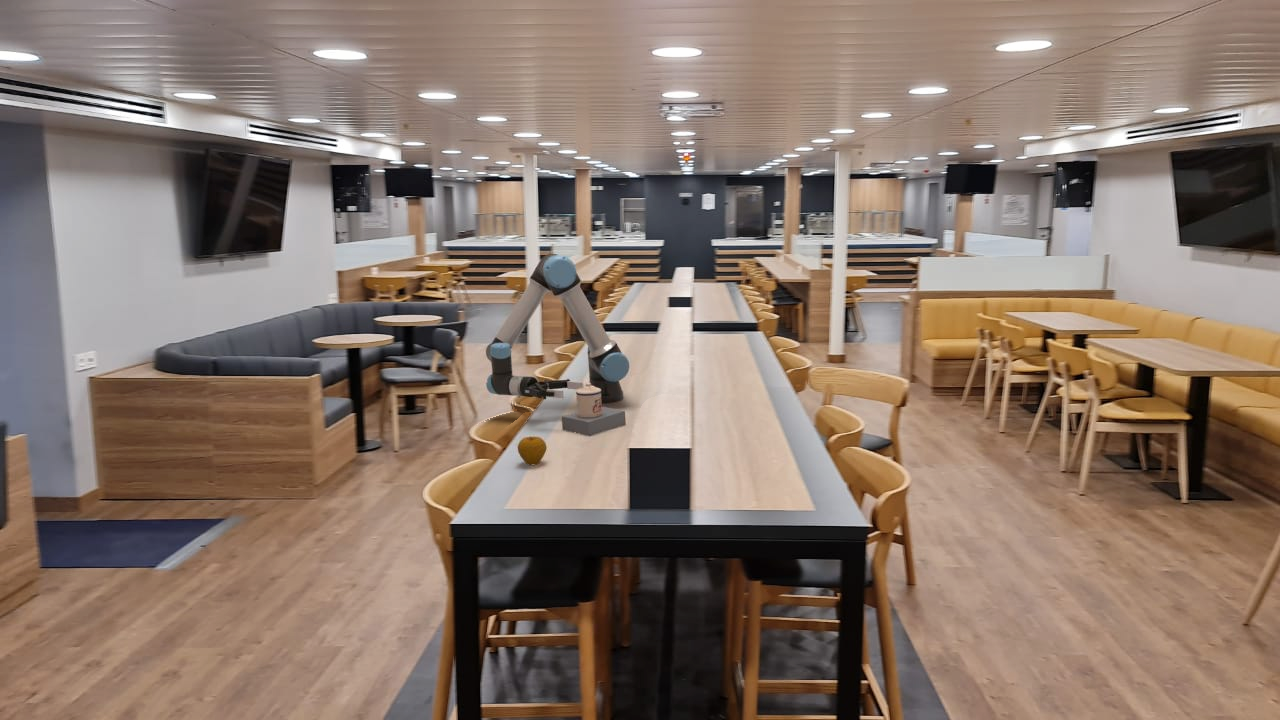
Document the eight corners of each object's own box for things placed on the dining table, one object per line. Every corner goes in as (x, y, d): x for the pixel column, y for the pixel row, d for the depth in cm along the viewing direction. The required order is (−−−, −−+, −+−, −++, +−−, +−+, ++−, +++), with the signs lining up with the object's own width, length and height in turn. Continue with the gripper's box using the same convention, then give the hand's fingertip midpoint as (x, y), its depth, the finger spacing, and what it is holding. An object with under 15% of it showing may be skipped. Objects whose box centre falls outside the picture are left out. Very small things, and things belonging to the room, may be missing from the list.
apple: (546, 458, 282) (544, 431, 281) (548, 466, 274) (546, 438, 272) (518, 460, 281) (516, 433, 279) (519, 469, 272) (517, 441, 270)
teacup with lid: (597, 418, 308) (595, 386, 306) (573, 417, 311) (571, 385, 309) (609, 410, 319) (607, 378, 317) (586, 409, 322) (584, 378, 320)
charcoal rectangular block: (598, 418, 328) (597, 405, 327) (625, 424, 318) (624, 411, 317) (562, 429, 315) (561, 416, 314) (589, 436, 305) (588, 422, 304)
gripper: (543, 388, 339) (591, 392, 329) (505, 404, 317) (554, 408, 308) (542, 369, 338) (590, 372, 328) (503, 383, 316) (553, 387, 306)
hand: (573, 390), depth 318 cm, fingers open, 13 cm apart
